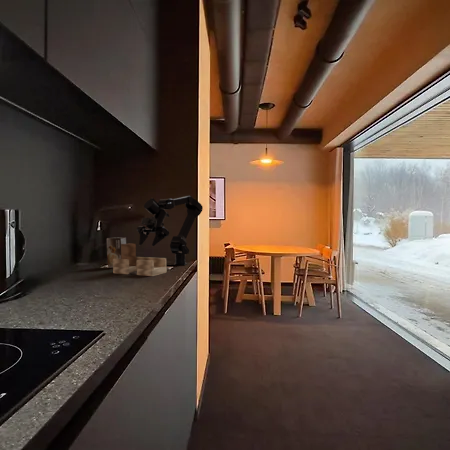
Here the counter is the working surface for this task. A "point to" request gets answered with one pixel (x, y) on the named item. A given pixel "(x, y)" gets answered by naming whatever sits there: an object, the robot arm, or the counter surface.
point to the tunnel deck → (140, 266)
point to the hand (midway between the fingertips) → (146, 245)
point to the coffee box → (114, 249)
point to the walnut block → (129, 253)
